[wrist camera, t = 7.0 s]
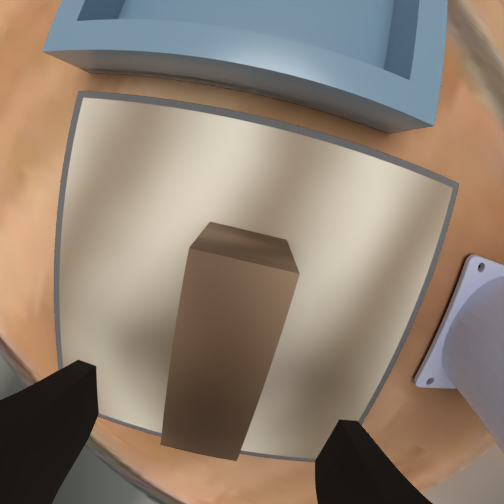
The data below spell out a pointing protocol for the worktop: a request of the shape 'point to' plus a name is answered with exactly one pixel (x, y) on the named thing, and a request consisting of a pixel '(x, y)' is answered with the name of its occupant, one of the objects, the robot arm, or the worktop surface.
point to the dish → (272, 50)
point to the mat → (267, 123)
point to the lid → (236, 275)
